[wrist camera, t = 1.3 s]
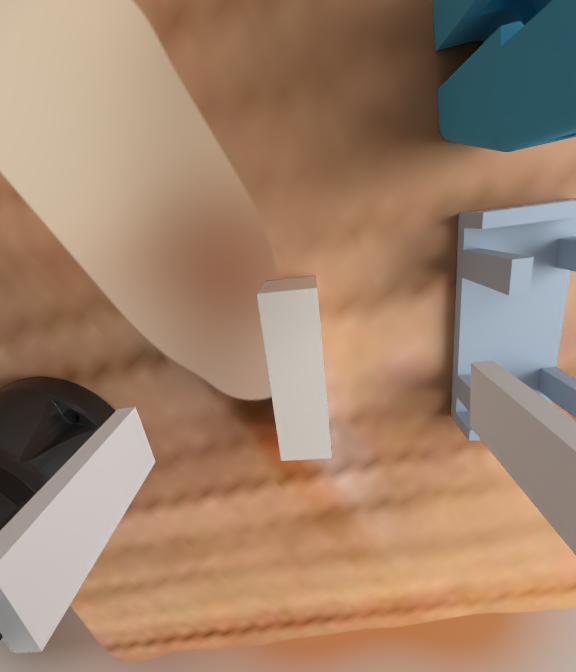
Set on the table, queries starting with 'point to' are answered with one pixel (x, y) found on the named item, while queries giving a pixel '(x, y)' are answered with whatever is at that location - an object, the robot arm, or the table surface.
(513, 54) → the block
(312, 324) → the white rectangular bar
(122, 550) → the table surface
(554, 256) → the rack
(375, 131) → the table surface
